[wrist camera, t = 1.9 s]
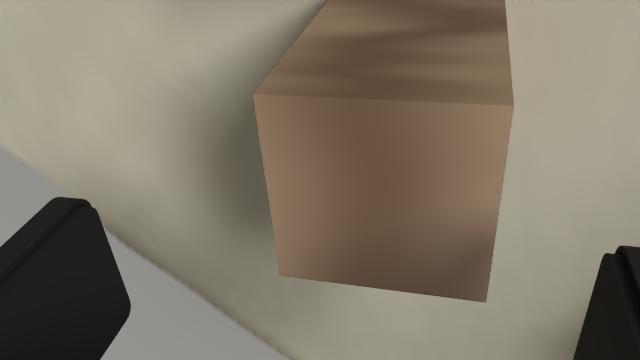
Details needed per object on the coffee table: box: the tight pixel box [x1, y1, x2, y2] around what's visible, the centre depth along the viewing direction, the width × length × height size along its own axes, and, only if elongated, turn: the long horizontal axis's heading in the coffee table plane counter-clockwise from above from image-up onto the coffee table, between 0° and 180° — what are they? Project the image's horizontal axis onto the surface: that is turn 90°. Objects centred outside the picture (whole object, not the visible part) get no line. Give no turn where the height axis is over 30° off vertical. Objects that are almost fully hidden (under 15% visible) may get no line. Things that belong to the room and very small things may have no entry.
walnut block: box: [252, 0, 514, 302], centre depth 15 cm, size 5×5×8 cm
